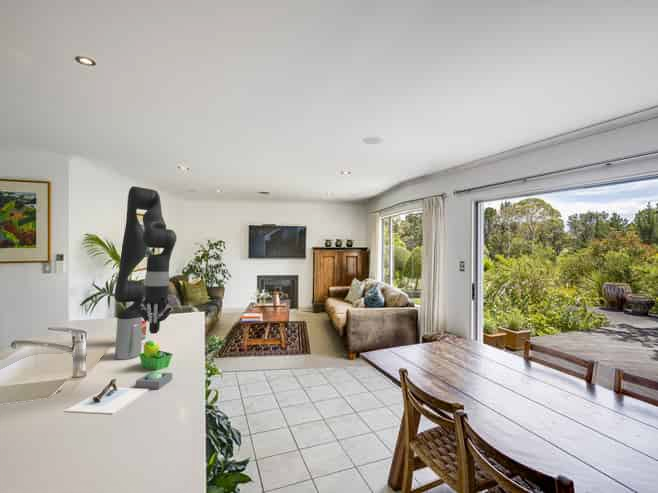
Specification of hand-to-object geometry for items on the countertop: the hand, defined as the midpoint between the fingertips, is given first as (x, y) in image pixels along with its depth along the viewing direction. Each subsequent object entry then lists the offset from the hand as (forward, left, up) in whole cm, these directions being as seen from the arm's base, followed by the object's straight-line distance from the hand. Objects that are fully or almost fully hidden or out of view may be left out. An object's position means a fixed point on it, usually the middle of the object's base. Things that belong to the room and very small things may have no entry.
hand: (154, 333), depth 105 cm
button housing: (0, +1, -18) cm, 18 cm away
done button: (0, +1, -17) cm, 17 cm away
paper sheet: (+13, -5, -18) cm, 22 cm away
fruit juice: (-44, -37, -18) cm, 61 cm away
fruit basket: (-15, -9, -18) cm, 25 cm away
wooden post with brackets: (+12, -7, -17) cm, 22 cm away
